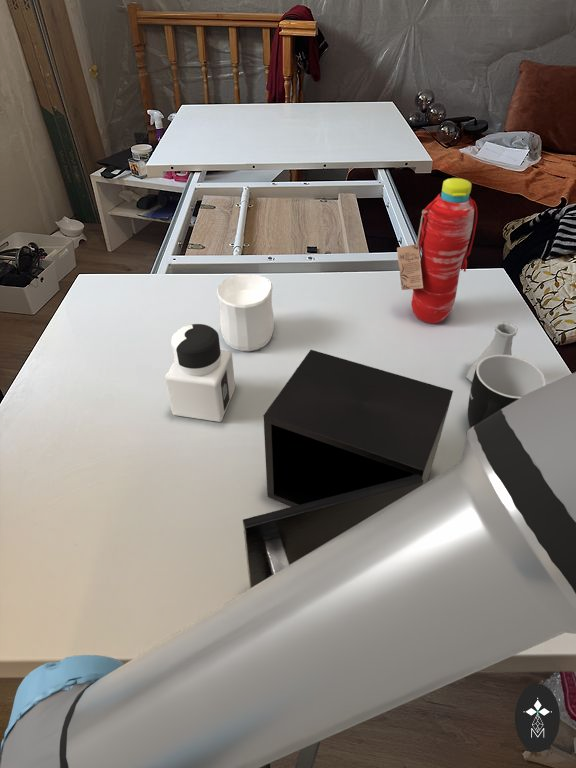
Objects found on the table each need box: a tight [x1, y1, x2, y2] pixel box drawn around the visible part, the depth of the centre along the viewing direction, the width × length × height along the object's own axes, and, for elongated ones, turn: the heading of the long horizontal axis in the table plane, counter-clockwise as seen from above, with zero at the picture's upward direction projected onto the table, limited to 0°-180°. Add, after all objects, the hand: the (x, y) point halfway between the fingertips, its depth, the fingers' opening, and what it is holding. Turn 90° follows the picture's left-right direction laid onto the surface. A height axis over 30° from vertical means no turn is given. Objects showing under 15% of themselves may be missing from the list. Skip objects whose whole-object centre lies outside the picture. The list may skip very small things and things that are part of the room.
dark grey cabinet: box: [262, 349, 454, 507], centre depth 65 cm, size 13×18×15 cm
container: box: [164, 323, 236, 423], centre depth 77 cm, size 8×8×13 cm
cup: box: [216, 273, 275, 352], centre depth 91 cm, size 10×10×10 cm
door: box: [242, 474, 424, 589], centre depth 53 cm, size 7×18×15 cm, turn 107°
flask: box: [466, 321, 519, 383], centre depth 82 cm, size 7×7×10 cm
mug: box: [467, 355, 547, 429], centre depth 73 cm, size 12×9×10 cm
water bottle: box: [396, 177, 479, 324], centre depth 90 cm, size 12×8×25 cm, turn 89°
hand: (311, 581), depth 52 cm, fingers open, 4 cm apart
